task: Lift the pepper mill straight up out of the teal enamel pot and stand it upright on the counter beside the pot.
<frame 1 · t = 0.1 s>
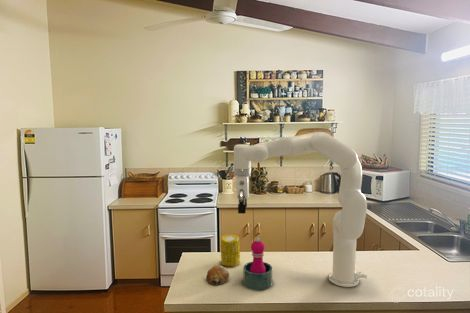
hand: (242, 210, 143), 31 cm above the counter, tool pointing down, fingers open, 9 cm apart
food: (230, 264, 160), on the counter
pepper mill: (257, 282, 141), resting on pot
pot: (257, 282, 141), on the counter
bread roll: (217, 280, 143), on the counter
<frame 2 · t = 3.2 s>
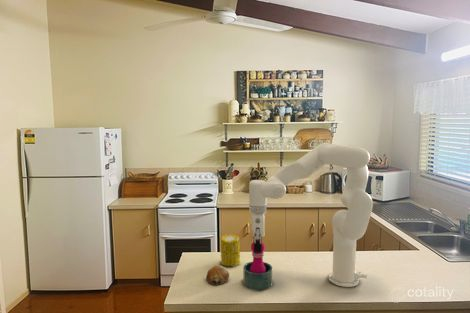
hand: (257, 248, 139), 15 cm above the counter, tool pointing down, fingers closed on pepper mill, 6 cm apart
pepper mill: (257, 282, 141), resting on pot, touching gripper
everything else where it was.
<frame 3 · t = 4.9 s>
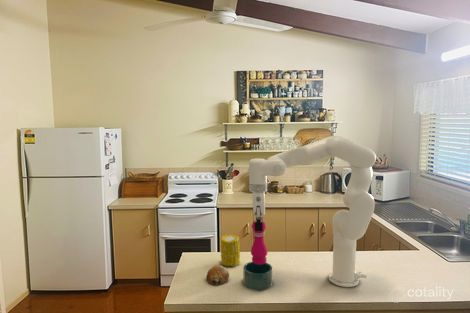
hand: (258, 228, 138), 25 cm above the counter, tool pointing down, fingers closed on pepper mill, 6 cm apart
pepper mill: (259, 261, 140), point 9 cm above the counter, touching gripper
everything else where it was.
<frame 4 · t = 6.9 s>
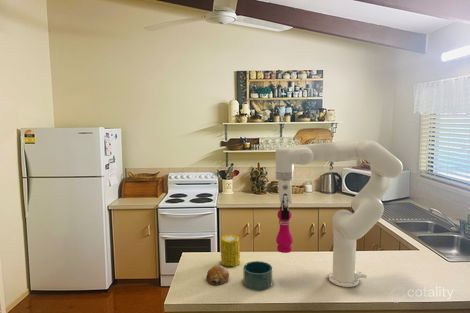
hand: (284, 216, 138), 30 cm above the counter, tool pointing down, fingers closed on pepper mill, 6 cm apart
pepper mill: (284, 250, 140), point 14 cm above the counter, touching gripper
everything else where it was.
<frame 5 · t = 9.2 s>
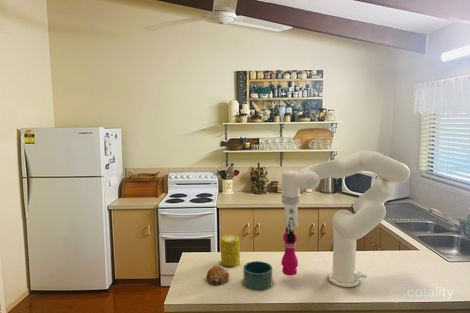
hand: (290, 239, 139), 19 cm above the counter, tool pointing down, fingers closed on pepper mill, 6 cm apart
pepper mill: (289, 272, 141), point 4 cm above the counter, touching gripper
everything else where it was.
when the fingers open (15 cm above the counter, at t = 10.8 s): pepper mill stays where it is, on the counter.
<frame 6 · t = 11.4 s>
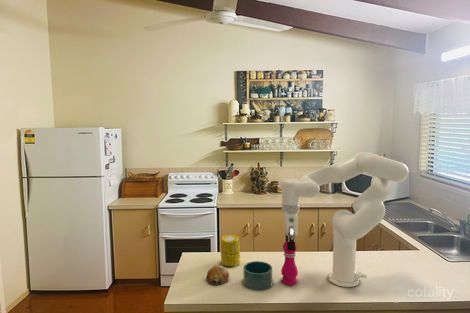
hand: (290, 246, 140), 16 cm above the counter, tool pointing down, fingers open, 9 cm apart
pepper mill: (289, 282, 141), on the counter
everything else where it was.
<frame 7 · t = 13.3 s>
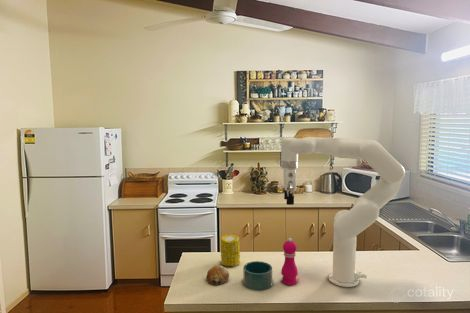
hand: (288, 201, 147), 34 cm above the counter, tool pointing down, fingers open, 9 cm apart
nothing on the counter moved.
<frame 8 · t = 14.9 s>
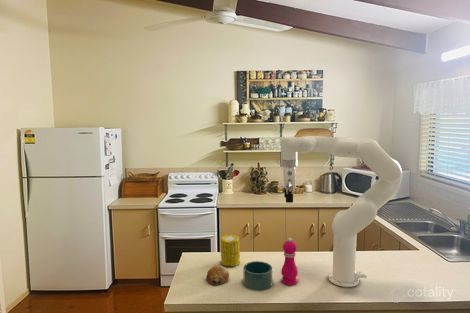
hand: (288, 199, 149), 34 cm above the counter, tool pointing down, fingers open, 9 cm apart
nothing on the counter moved.
at the end: pepper mill inside the target area (0.1 cm from its centre), on the counter; pepper mill tilted 0°; the gripper is holding nothing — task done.
